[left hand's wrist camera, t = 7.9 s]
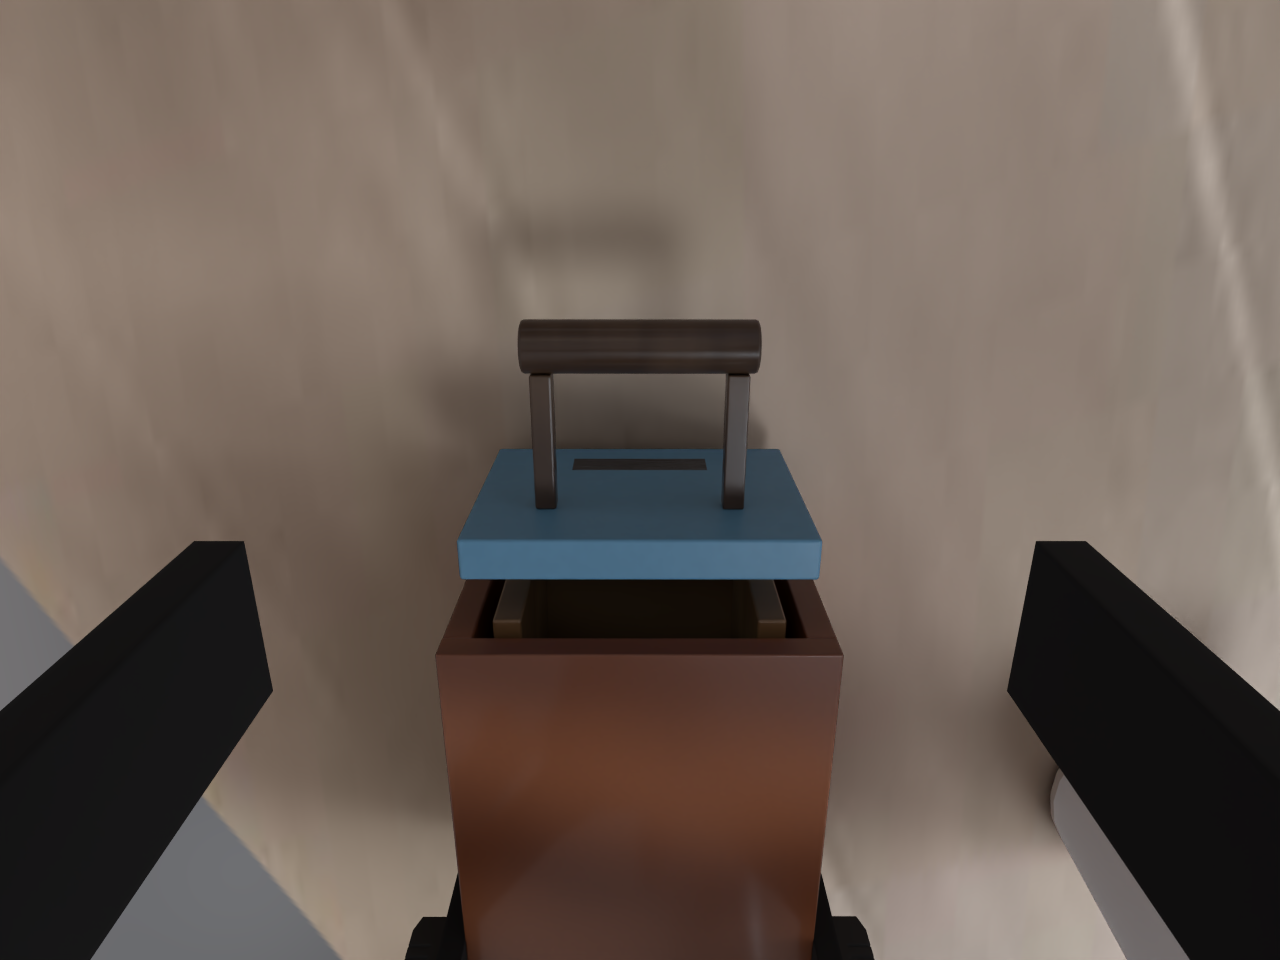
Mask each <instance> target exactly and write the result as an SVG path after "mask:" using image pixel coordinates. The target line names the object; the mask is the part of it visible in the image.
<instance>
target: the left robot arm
mask: <svg viewBox="0 0 1280 960" xmlns="http://www.w3.org/2000/svg"><path fill="white" fill-rule="evenodd" d="M272 692H273V689H272V683H271V678H270V673H269V668H268V663H267V658H266V652H265V647H264V642H263V637H262V632H261V627H260V622H259V616H258V611H257V606H256V601H255V596H254V591H253V585H252V580H251V575H250V570H249V565H248V560H247V554H246V549H245V544H244V541H194V542H193V543H192V544H190V545H189V546H188V547H187V548H186V549H185V550H184V551H182V552H181V553H180V554H179V555H178V556H177V557H176V558H174V559H173V560H172V561H171V562H170V563H169V564H168V565H166V566H165V567H164V568H163V569H162V570H161V571H160V572H158V573H157V574H156V575H155V576H154V577H153V578H152V579H151V580H149V581H148V582H147V583H146V584H145V585H144V586H143V587H141V588H140V589H139V590H138V591H137V592H136V593H135V594H133V595H132V596H131V597H130V598H129V599H128V600H127V601H125V602H124V603H123V604H122V605H121V606H120V607H119V608H117V609H116V610H115V611H114V612H113V613H112V614H111V615H109V616H108V617H107V618H106V619H105V620H104V621H103V622H101V623H100V624H99V625H98V626H97V627H96V628H95V629H93V630H92V631H91V632H90V633H89V634H88V635H87V636H85V637H84V638H83V639H82V640H81V641H80V642H79V643H77V644H76V645H75V646H74V647H73V648H72V649H71V650H69V651H68V652H67V653H66V654H65V655H64V656H63V657H62V658H60V659H59V660H58V661H57V662H56V663H55V664H54V665H52V666H51V667H50V668H49V669H48V670H47V671H45V672H44V673H43V674H42V675H41V676H40V677H39V678H37V679H36V680H35V681H34V682H33V683H32V684H31V685H30V686H28V687H27V688H26V689H25V690H24V691H23V692H22V693H20V694H19V695H18V696H17V697H16V698H15V699H14V700H12V701H11V702H10V703H9V704H8V705H7V706H6V707H4V708H3V709H2V710H1V711H0V960H90V959H91V958H92V956H93V955H94V954H95V952H96V950H97V949H98V948H99V946H100V945H101V943H102V942H103V940H104V939H105V937H106V936H107V934H108V933H109V931H110V930H111V929H112V927H113V926H114V924H115V923H116V921H117V920H118V918H119V917H120V915H121V914H122V912H123V911H124V909H125V908H126V906H127V905H128V903H129V902H130V900H131V899H132V898H133V896H134V895H135V893H136V892H137V890H138V889H139V887H140V886H141V884H142V883H143V881H144V880H145V878H146V877H147V875H148V874H149V873H150V871H151V870H152V868H153V867H154V865H155V864H156V862H157V861H158V859H159V858H160V856H161V855H162V853H163V852H164V850H165V849H166V847H167V846H168V845H169V843H170V842H171V840H172V839H173V837H174V836H175V834H176V833H177V831H178V830H179V828H180V827H181V825H182V824H183V823H184V821H185V820H186V818H187V817H188V815H189V814H190V812H191V811H192V809H193V808H194V806H195V805H196V803H197V802H198V800H199V799H200V797H201V796H202V795H203V793H204V792H205V790H206V789H207V787H208V786H209V784H210V783H211V781H212V780H213V778H214V777H215V775H216V774H217V773H218V771H219V770H220V768H221V767H222V765H223V764H224V762H225V761H226V759H227V758H228V756H229V755H230V753H231V752H232V750H233V749H234V747H235V746H236V745H237V743H238V742H239V740H240V739H241V737H242V736H243V734H244V733H245V731H246V730H247V728H248V727H249V725H250V724H251V722H252V721H253V720H254V718H255V717H256V715H257V714H258V712H259V711H260V709H261V708H262V706H263V705H264V703H265V702H266V700H267V699H268V697H269V696H270V695H271V693H272ZM1007 692H1008V693H1009V694H1010V696H1011V697H1012V699H1013V700H1014V702H1015V703H1016V705H1017V706H1018V708H1019V709H1020V711H1021V712H1022V714H1023V715H1024V717H1025V718H1026V719H1027V721H1028V722H1029V724H1030V725H1031V727H1032V728H1033V730H1034V731H1035V733H1036V734H1037V736H1038V737H1039V739H1040V740H1041V742H1042V743H1043V745H1044V746H1045V747H1046V749H1047V750H1048V752H1049V753H1050V755H1051V756H1052V758H1053V759H1054V761H1055V762H1056V764H1057V765H1058V767H1059V768H1060V770H1061V771H1062V772H1063V774H1064V775H1065V777H1066V778H1067V780H1068V781H1069V783H1070V784H1071V786H1072V787H1073V789H1074V790H1075V792H1076V793H1077V795H1078V796H1079V797H1080V799H1081V800H1082V802H1083V803H1084V805H1085V806H1086V808H1087V809H1088V811H1089V812H1090V814H1091V815H1092V817H1093V818H1094V820H1095V821H1096V823H1097V824H1098V825H1099V827H1100V828H1101V830H1102V831H1103V833H1104V834H1105V836H1106V837H1107V839H1108V840H1109V842H1110V843H1111V845H1112V846H1113V848H1114V849H1115V850H1116V852H1117V853H1118V855H1119V856H1120V858H1121V859H1122V861H1123V862H1124V864H1125V865H1126V867H1127V868H1128V870H1129V871H1130V873H1131V874H1132V875H1133V877H1134V878H1135V880H1136V881H1137V883H1138V884H1139V886H1140V887H1141V889H1142V890H1143V892H1144V893H1145V895H1146V896H1147V898H1148V899H1149V901H1150V902H1151V903H1152V905H1153V906H1154V908H1155V909H1156V911H1157V912H1158V914H1159V915H1160V917H1161V918H1162V920H1163V921H1164V923H1165V924H1166V926H1167V927H1168V928H1169V930H1170V931H1171V933H1172V934H1173V936H1174V937H1175V939H1176V940H1177V942H1178V943H1179V945H1180V946H1181V948H1182V949H1183V951H1184V952H1185V953H1186V955H1187V956H1188V958H1189V959H1190V960H1280V711H1279V710H1278V709H1277V708H1276V707H1274V706H1273V705H1272V704H1271V703H1270V702H1269V701H1268V700H1266V699H1265V698H1264V697H1263V696H1262V695H1261V694H1260V693H1259V692H1257V691H1256V690H1255V689H1254V688H1253V687H1252V686H1251V685H1249V684H1248V683H1247V682H1246V681H1245V680H1244V679H1243V678H1241V677H1240V676H1239V675H1238V674H1237V673H1236V672H1235V671H1233V670H1232V669H1231V668H1230V667H1229V666H1228V665H1227V664H1225V663H1224V662H1223V661H1222V660H1221V659H1220V658H1219V657H1217V656H1216V655H1215V654H1214V653H1213V652H1212V651H1211V650H1209V649H1208V648H1207V647H1206V646H1205V645H1204V644H1203V643H1201V642H1200V641H1199V640H1198V639H1197V638H1196V637H1195V636H1193V635H1192V634H1191V633H1190V632H1189V631H1188V630H1187V629H1185V628H1184V627H1183V626H1182V625H1181V624H1180V623H1179V622H1177V621H1176V620H1175V619H1174V618H1173V617H1172V616H1171V615H1169V614H1168V613H1167V612H1166V611H1165V610H1164V609H1163V608H1161V607H1160V606H1159V605H1158V604H1157V603H1156V602H1155V601H1153V600H1152V599H1151V598H1150V597H1149V596H1148V595H1147V594H1145V593H1144V592H1143V591H1142V590H1141V589H1140V588H1139V587H1138V586H1136V585H1135V584H1134V583H1133V582H1132V581H1131V580H1130V579H1128V578H1127V577H1126V576H1125V575H1124V574H1123V573H1122V572H1120V571H1119V570H1118V569H1117V568H1116V567H1115V566H1114V565H1112V564H1111V563H1110V562H1109V561H1108V560H1107V559H1106V558H1104V557H1103V556H1102V555H1101V554H1100V553H1099V552H1098V551H1096V550H1095V549H1094V548H1093V547H1092V546H1091V545H1090V544H1088V543H1087V542H1086V541H1036V544H1035V549H1034V555H1033V560H1032V565H1031V570H1030V575H1029V580H1028V586H1027V591H1026V596H1025V601H1024V606H1023V611H1022V616H1021V622H1020V627H1019V632H1018V637H1017V642H1016V647H1015V653H1014V658H1013V663H1012V668H1011V673H1010V678H1009V684H1008V689H1007Z"/></svg>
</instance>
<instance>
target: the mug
mask: <svg viewBox="0 0 1280 960" xmlns="http://www.w3.org/2000/svg"><path fill="white" fill-rule="evenodd" d="M1050 802H1051V817H1052V820H1053V822H1054V824H1055V827H1056V829H1057V832H1058V834H1059V835H1060V837H1061V839H1062V841H1063V843H1064V844H1065V846H1066V848H1067V850H1068V852H1069V854H1070V856H1071V857H1072V859H1073V861H1074V863H1075V865H1076V867H1077V868H1078V870H1079V872H1080V874H1081V876H1082V878H1083V880H1084V881H1085V883H1086V885H1087V887H1088V889H1089V891H1090V892H1091V894H1092V896H1093V898H1094V900H1095V902H1096V904H1097V905H1098V907H1099V909H1100V911H1101V913H1102V915H1103V916H1104V918H1105V920H1106V922H1107V924H1108V926H1109V928H1110V929H1111V931H1112V933H1113V935H1114V937H1115V939H1116V940H1117V942H1118V944H1119V946H1120V948H1121V950H1122V952H1123V953H1124V955H1125V957H1126V959H1127V960H1190V959H1189V958H1188V956H1187V955H1186V953H1185V952H1184V951H1183V949H1182V948H1181V946H1180V945H1179V943H1178V942H1177V940H1176V939H1175V937H1174V936H1173V934H1172V933H1171V931H1170V930H1169V928H1168V927H1167V926H1166V924H1165V923H1164V921H1163V920H1162V918H1161V917H1160V915H1159V914H1158V912H1157V911H1156V909H1155V908H1154V906H1153V905H1152V903H1151V902H1150V901H1149V899H1148V898H1147V896H1146V895H1145V893H1144V892H1143V890H1142V889H1141V887H1140V886H1139V884H1138V883H1137V881H1136V880H1135V878H1134V877H1133V875H1132V874H1131V873H1130V871H1129V870H1128V868H1127V867H1126V865H1125V864H1124V862H1123V861H1122V859H1121V858H1120V856H1119V855H1118V853H1117V852H1116V850H1115V849H1114V848H1113V846H1112V845H1111V843H1110V842H1109V840H1108V839H1107V837H1106V836H1105V834H1104V833H1103V831H1102V830H1101V828H1100V827H1099V825H1098V824H1097V823H1096V821H1095V820H1094V818H1093V817H1092V815H1091V814H1090V812H1089V811H1088V809H1087V808H1086V806H1085V805H1084V803H1083V802H1082V800H1081V799H1080V797H1079V796H1078V795H1077V793H1076V792H1075V790H1074V789H1073V787H1072V786H1071V784H1070V783H1069V781H1068V780H1067V778H1066V777H1065V775H1064V774H1063V772H1062V771H1061V770H1060V768H1059V769H1058V771H1057V773H1056V776H1055V780H1054V783H1053V786H1052V790H1051V795H1050Z"/></svg>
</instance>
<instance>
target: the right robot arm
mask: <svg viewBox="0 0 1280 960" xmlns="http://www.w3.org/2000/svg"><path fill="white" fill-rule="evenodd" d="M405 960H467V950H466V941H465V933H464V923H463V914H462V904H461V895H460V885H459V876H458V874H457V878H456V882H455V886H454V890H453V894H452V898H451V902H450V906H449V910H448V914H447V917H423V918H422V919H421V920H420V922H419V923H418V924H417V926H416V927H415V928H414V930H413V932H412V936H411V939H410V943H409V948H408V949H407V953H406V956H405ZM811 960H875V959H874V957H873V953H872V949H871V947H870V942H869V939H868V935H867V932H866V929H865V928H864V926H863V925H862V924H861V922H860V921H859V920H858V918H857V917H856V916H832V915H831V911H830V907H829V903H828V899H827V895H826V891H825V887H824V883H823V878H822V874H820V884H819V893H818V903H817V912H816V922H815V931H814V940H813V949H812V958H811Z"/></svg>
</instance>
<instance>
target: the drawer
mask: <svg viewBox="0 0 1280 960" xmlns="http://www.w3.org/2000/svg"><path fill="white" fill-rule="evenodd" d="M761 349H762V337H761V327H760V323H759V321H758V320H643V319H524V320H521V321H520V324H519V328H518V359H519V366H520V369H521V371H522V373H525V374H530V376H529V388H530V408H531V428H532V448H533V449H501V450H500V451H499V453H498V455H497V457H496V459H495V461H494V463H493V466H492V468H491V470H490V472H489V474H488V476H487V478H486V480H485V483H484V485H483V487H482V489H481V491H480V493H479V495H478V497H477V500H476V502H475V504H474V506H473V508H472V510H471V512H470V514H469V516H468V519H467V521H466V523H465V525H464V527H463V529H462V531H461V533H460V536H459V538H458V540H457V549H458V560H459V572H460V577H461V579H506V580H505V584H504V587H503V590H502V593H501V596H500V600H499V603H498V606H497V609H496V612H495V615H494V619H493V633H494V638H785V634H786V618H785V615H784V612H783V609H782V605H781V602H780V599H779V596H778V593H777V589H776V586H775V583H774V580H773V579H818V578H819V573H820V561H821V550H822V540H821V538H820V536H819V533H818V531H817V529H816V527H815V525H814V523H813V521H812V518H811V516H810V514H809V512H808V510H807V508H806V506H805V503H804V501H803V499H802V497H801V495H800V493H799V491H798V488H797V486H796V484H795V482H794V480H793V478H792V476H791V473H790V471H789V469H788V467H787V465H786V463H785V461H784V458H783V456H782V454H781V452H780V450H778V449H747V435H748V415H749V396H750V375H749V374H755V373H757V372H758V370H759V367H760V362H761ZM553 374H726V389H725V414H724V440H723V449H556V434H555V409H554V383H553Z"/></svg>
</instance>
